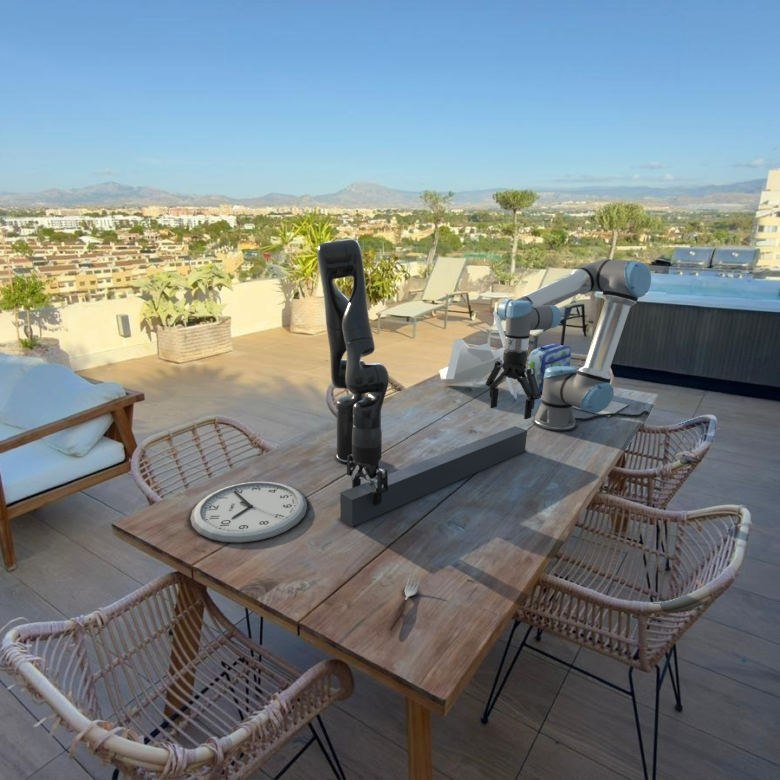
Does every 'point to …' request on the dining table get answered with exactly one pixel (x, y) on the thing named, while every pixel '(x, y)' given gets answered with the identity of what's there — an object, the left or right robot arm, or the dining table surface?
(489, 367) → the white plastic object
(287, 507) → the wall clock
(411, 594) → the fork
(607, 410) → the invitation card
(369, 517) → the beam
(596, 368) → the right robot arm
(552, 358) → the lunch box
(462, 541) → the dining table surface
